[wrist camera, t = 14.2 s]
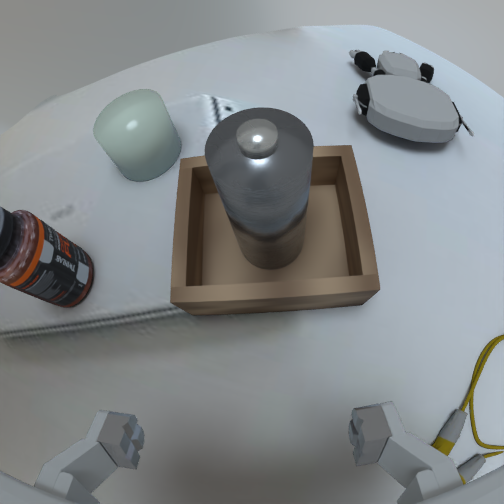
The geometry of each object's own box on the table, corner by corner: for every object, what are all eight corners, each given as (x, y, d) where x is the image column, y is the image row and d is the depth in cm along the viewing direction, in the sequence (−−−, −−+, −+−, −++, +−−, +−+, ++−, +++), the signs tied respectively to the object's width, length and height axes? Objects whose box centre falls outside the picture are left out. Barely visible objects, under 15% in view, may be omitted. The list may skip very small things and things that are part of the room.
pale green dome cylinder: (114, 186, 29) (84, 151, 24) (126, 134, 32) (104, 99, 26) (177, 176, 28) (155, 135, 23) (184, 123, 31) (167, 82, 25)
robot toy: (342, 66, 34) (353, 146, 28) (345, 37, 30) (360, 110, 24) (429, 81, 32) (462, 164, 26) (438, 55, 28) (479, 134, 22)
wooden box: (192, 315, 24) (170, 302, 19) (196, 191, 28) (180, 158, 23) (362, 305, 23) (380, 289, 18) (342, 180, 26) (351, 145, 22)
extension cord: (412, 372, 21) (422, 372, 19) (536, 314, 20) (548, 310, 18) (427, 498, 16) (436, 505, 14) (548, 422, 16) (560, 423, 14)
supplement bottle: (106, 264, 26) (24, 207, 16) (76, 320, 25) (-17, 287, 14) (69, 239, 28) (-6, 183, 17) (41, 290, 26) (-42, 250, 16)
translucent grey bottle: (239, 271, 24) (197, 185, 12) (238, 212, 25) (204, 102, 14) (306, 267, 23) (322, 175, 12) (300, 207, 25) (305, 93, 14)
